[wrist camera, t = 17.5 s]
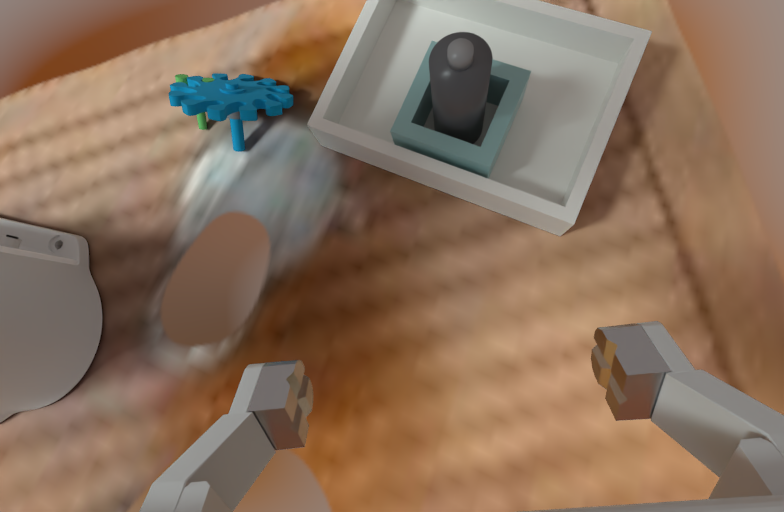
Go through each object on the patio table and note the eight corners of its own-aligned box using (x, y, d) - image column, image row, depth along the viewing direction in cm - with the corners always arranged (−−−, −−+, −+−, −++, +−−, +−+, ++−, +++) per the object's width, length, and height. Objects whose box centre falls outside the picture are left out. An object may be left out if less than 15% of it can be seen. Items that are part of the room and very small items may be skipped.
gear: (316, 85, 37) (230, 112, 30) (316, 148, 41) (238, 186, 34) (224, 58, 41) (128, 76, 34) (231, 118, 45) (145, 146, 37)
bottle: (427, 139, 36) (417, 68, 26) (446, 98, 36) (443, 13, 26) (471, 155, 35) (478, 88, 25) (490, 113, 35) (504, 31, 26)
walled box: (321, 145, 38) (302, 119, 33) (393, -5, 40) (384, -52, 35) (560, 236, 34) (578, 221, 29) (630, 63, 35) (658, 21, 31)
